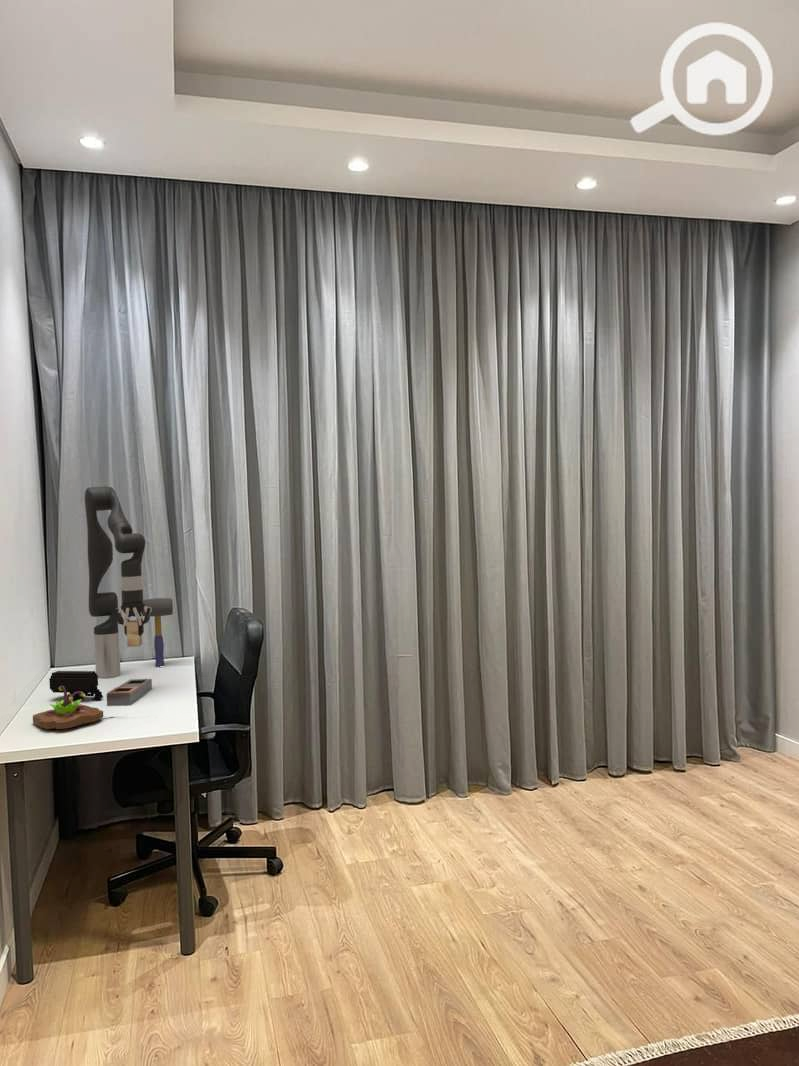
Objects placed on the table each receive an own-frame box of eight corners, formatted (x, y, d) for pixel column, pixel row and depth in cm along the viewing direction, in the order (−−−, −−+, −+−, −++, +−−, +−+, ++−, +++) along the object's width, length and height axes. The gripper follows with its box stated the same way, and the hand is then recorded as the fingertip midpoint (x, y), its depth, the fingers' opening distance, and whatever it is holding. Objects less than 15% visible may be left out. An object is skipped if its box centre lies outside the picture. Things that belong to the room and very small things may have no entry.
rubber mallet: (176, 667, 358) (173, 596, 357) (175, 671, 350) (171, 598, 349) (145, 670, 355) (142, 598, 354) (143, 673, 348) (140, 600, 347)
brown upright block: (131, 644, 313) (130, 620, 313) (142, 644, 313) (140, 620, 312) (127, 646, 309) (126, 622, 309) (138, 646, 309) (137, 621, 308)
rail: (130, 690, 317) (130, 678, 317) (152, 689, 317) (151, 677, 316) (107, 705, 293) (106, 693, 293) (130, 705, 293) (129, 692, 292)
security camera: (96, 702, 298) (94, 674, 298) (48, 702, 302) (47, 674, 301) (106, 698, 305) (105, 670, 304) (60, 697, 308) (58, 670, 308)
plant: (79, 710, 290) (78, 677, 289) (111, 717, 277) (110, 683, 277) (22, 723, 274) (20, 688, 274) (53, 732, 262) (51, 695, 261)
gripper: (154, 586, 314) (156, 633, 314) (116, 588, 314) (118, 634, 315) (148, 589, 306) (150, 636, 307) (108, 590, 306) (111, 637, 307)
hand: (134, 635), depth 311 cm, fingers closed on brown upright block, 4 cm apart
